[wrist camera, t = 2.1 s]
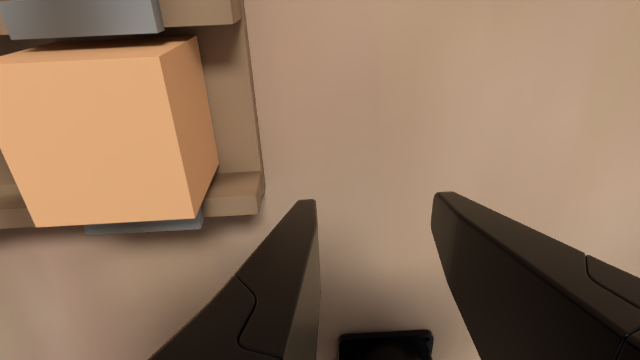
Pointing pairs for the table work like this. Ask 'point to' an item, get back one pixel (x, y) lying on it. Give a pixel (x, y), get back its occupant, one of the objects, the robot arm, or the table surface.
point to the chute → (219, 74)
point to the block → (108, 130)
